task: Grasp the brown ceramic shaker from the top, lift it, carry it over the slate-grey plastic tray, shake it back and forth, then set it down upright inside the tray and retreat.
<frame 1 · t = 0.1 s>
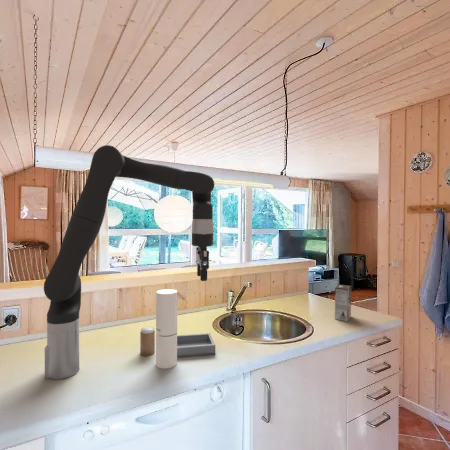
hand: (201, 278, 109), 29 cm above the countertop, tool pointing down, fingers open, 8 cm apart
cylindrical container: (166, 364, 107), on the countertop
coffee box: (342, 318, 159), on the countertop
shaker: (147, 352, 116), on the countertop
tray: (193, 349, 119), on the countertop
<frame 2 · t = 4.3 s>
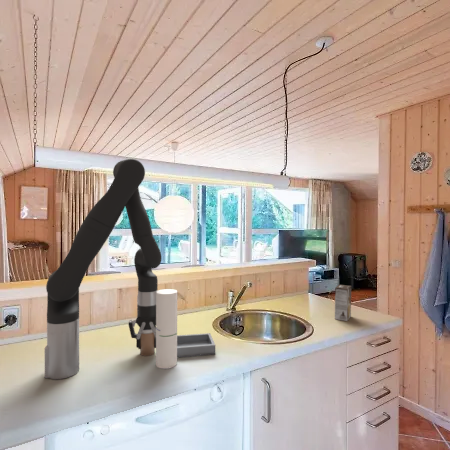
hand: (147, 347, 116), 2 cm above the countertop, tool pointing down, fingers closed on shaker, 5 cm apart
shaker: (147, 352, 116), on the countertop, touching gripper
everything else where it was.
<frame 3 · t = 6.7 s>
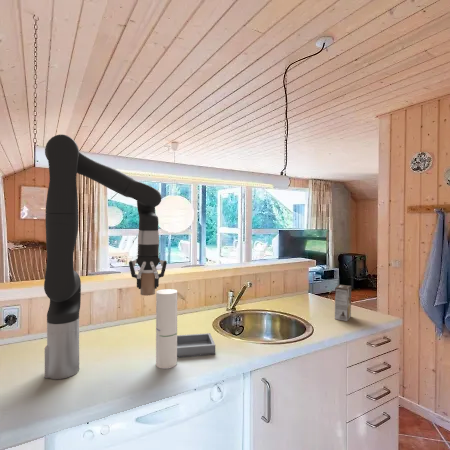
hand: (147, 288, 115), 24 cm above the countertop, tool pointing down, fingers closed on shaker, 5 cm apart
shaker: (147, 293, 115), point 22 cm above the countertop, touching gripper
everything else where it was.
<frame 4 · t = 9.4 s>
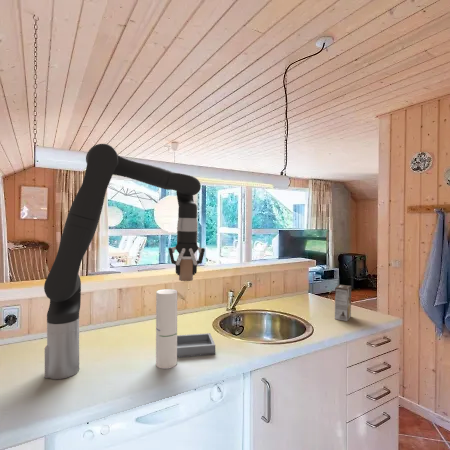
hand: (186, 274, 118), 29 cm above the countertop, tool pointing down, fingers closed on shaker, 5 cm apart
shaker: (185, 279, 118), point 27 cm above the countertop, touching gripper
everything else where it was.
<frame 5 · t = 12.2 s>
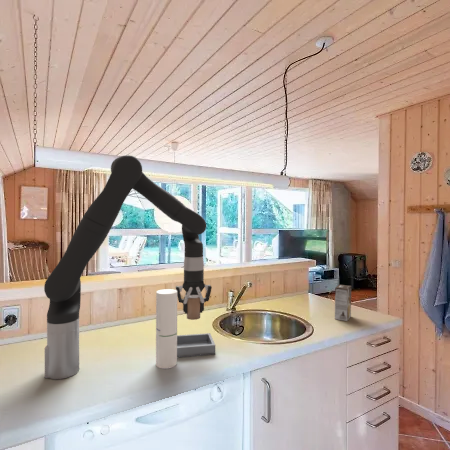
hand: (193, 312, 119), 14 cm above the countertop, tool pointing down, fingers closed on shaker, 5 cm apart
shaker: (193, 317, 119), point 12 cm above the countertop, touching gripper
everything else where it was.
when the fingers open (4 cm above the countertop, at t = 14.7 s): shaker drops 2 cm, resting on tray.
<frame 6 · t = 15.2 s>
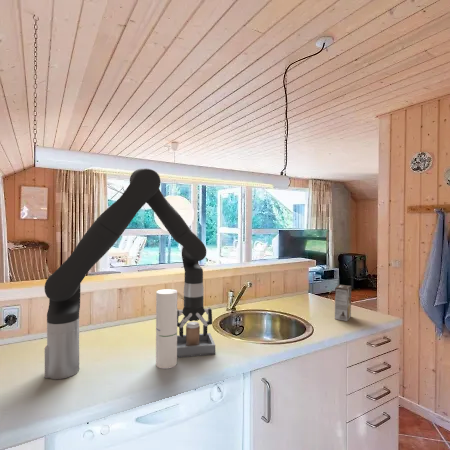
hand: (193, 336, 119), 5 cm above the countertop, tool pointing down, fingers open, 8 cm apart
shaker: (192, 347, 119), point 1 cm above the countertop, touching tray
everything else where it was.
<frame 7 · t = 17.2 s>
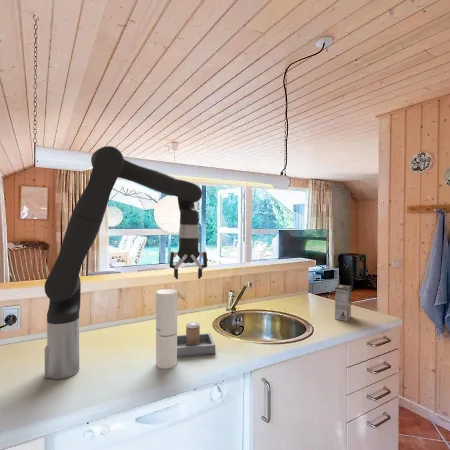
hand: (188, 278, 120), 27 cm above the countertop, tool pointing down, fingers open, 8 cm apart
nothing on the countertop moved.
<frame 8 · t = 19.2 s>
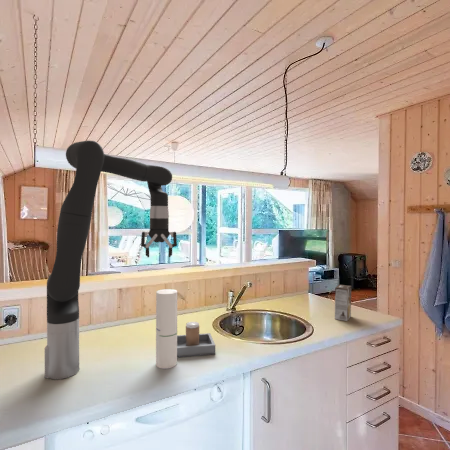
hand: (159, 257, 127), 34 cm above the countertop, tool pointing down, fingers open, 8 cm apart
nothing on the countertop moved.
at the end: shaker inside the target area on the tray (0.2 cm from its centre), point 0.8 cm above the tray's base; shaker tilted 1°; the gripper is holding nothing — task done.
